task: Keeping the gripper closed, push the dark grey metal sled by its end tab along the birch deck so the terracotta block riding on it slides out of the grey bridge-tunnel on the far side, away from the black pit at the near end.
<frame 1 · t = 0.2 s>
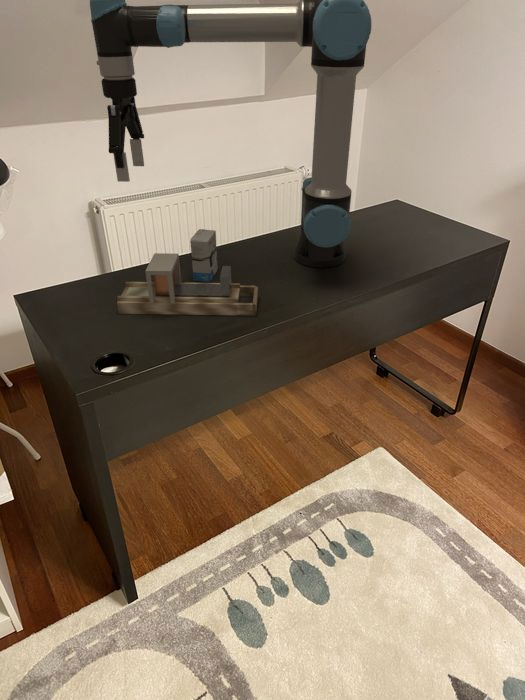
hand: (131, 173, 130), 28 cm above the table, fingers open, 13 cm apart
ink box: (206, 275, 146), on the table
sled: (193, 282, 128), point 6 cm above the table, slide at 0.0 cm
tunnel: (167, 304, 132), resting on deck
deck: (190, 304, 131), on the table
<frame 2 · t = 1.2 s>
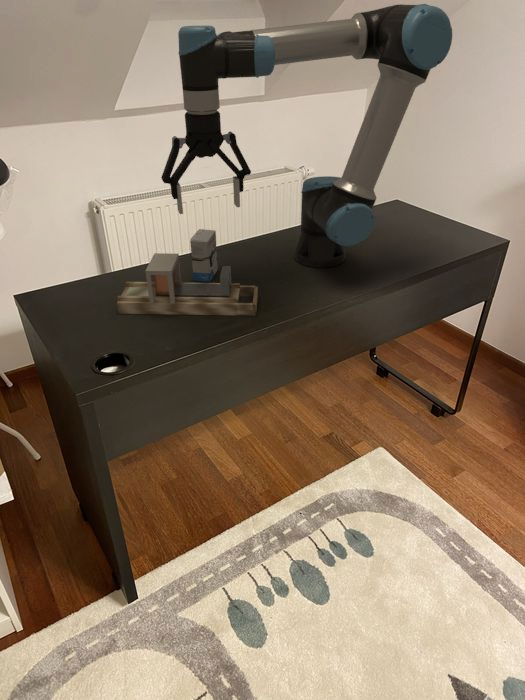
hand: (209, 208, 123), 23 cm above the table, fingers open, 13 cm apart
nothing on the table moved.
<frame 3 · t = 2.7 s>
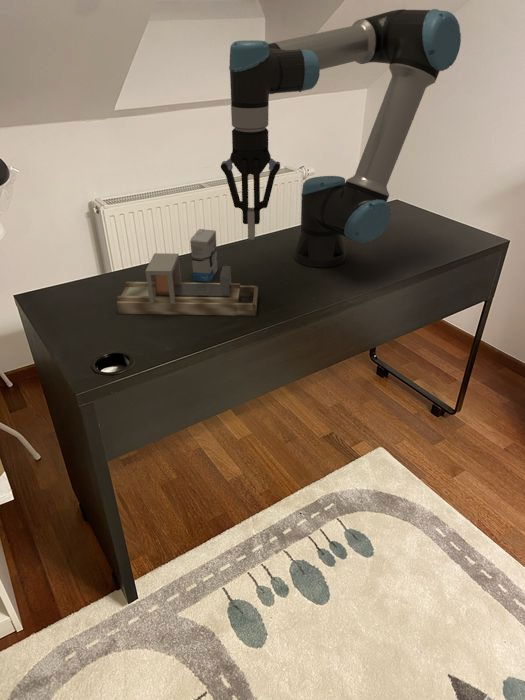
hand: (251, 237, 121), 18 cm above the table, fingers closed
nothing on the table moved.
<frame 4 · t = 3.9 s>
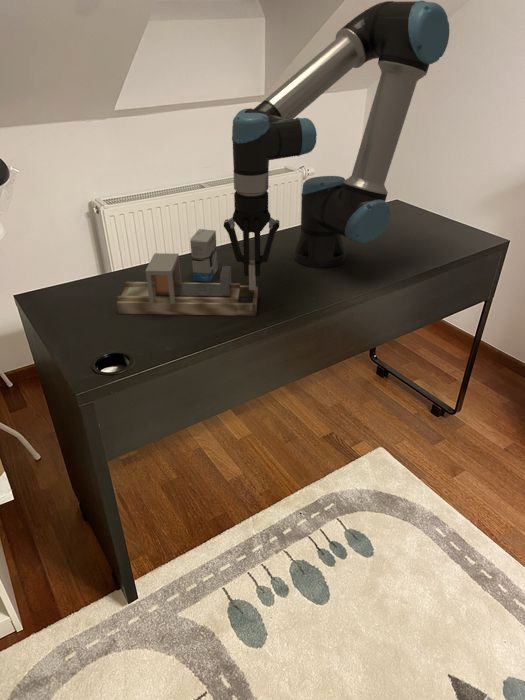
hand: (252, 287, 128), 5 cm above the table, fingers closed
nothing on the table moved.
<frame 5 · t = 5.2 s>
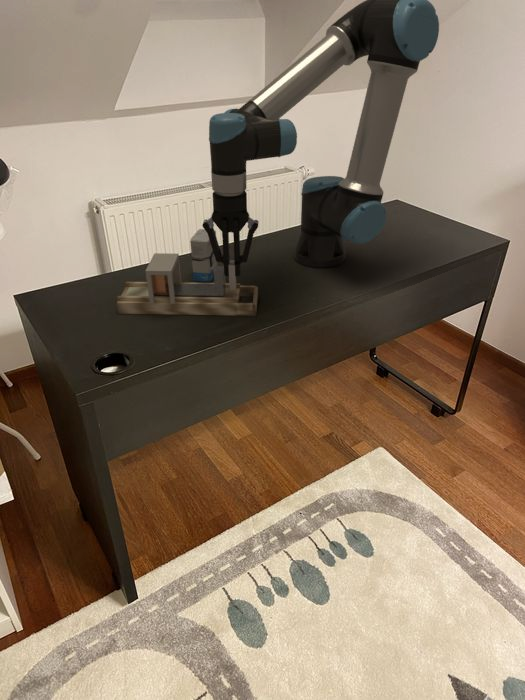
hand: (232, 287, 128), 5 cm above the table, fingers closed
sled: (187, 281, 128), point 6 cm above the table, slide at 1.4 cm, touching gripper
everything else where it was.
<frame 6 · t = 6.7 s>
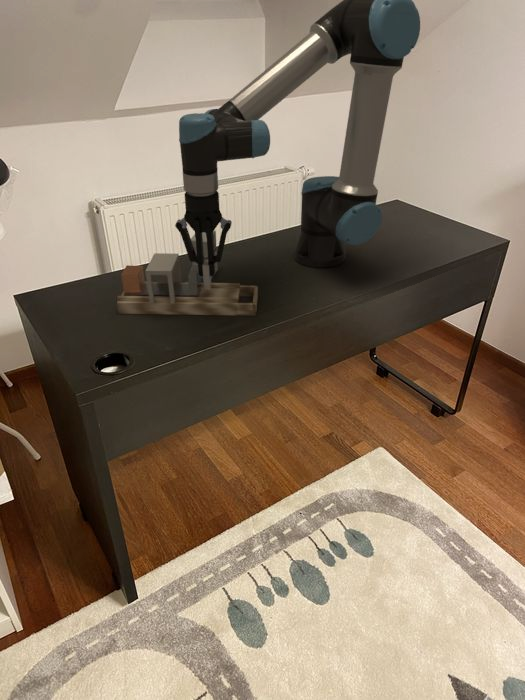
hand: (207, 287, 128), 5 cm above the table, fingers closed
sled: (162, 281, 128), point 6 cm above the table, slide at 7.6 cm, touching gripper
everything else where it was.
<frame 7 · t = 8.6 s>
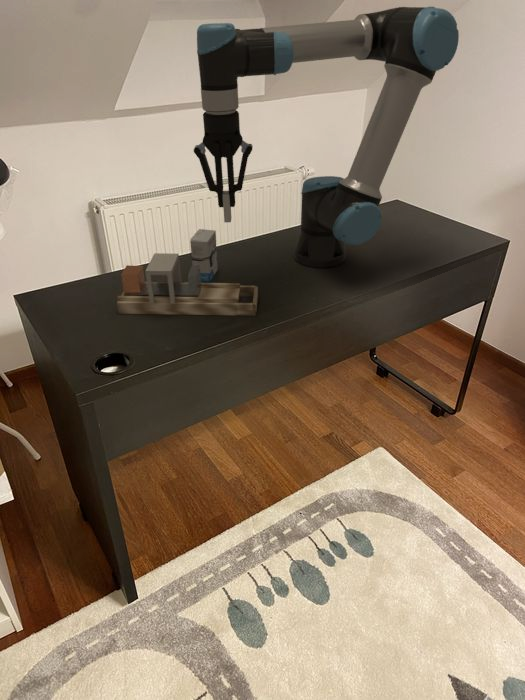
hand: (227, 220, 122), 21 cm above the table, fingers closed
sled: (162, 281, 128), point 6 cm above the table, slide at 7.7 cm
everything else where it was.
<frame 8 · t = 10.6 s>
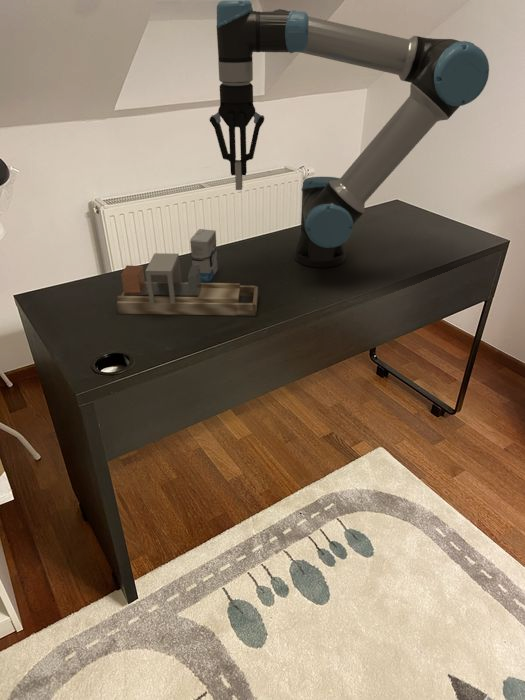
hand: (239, 188, 131), 24 cm above the table, fingers closed
nothing on the table moved.
at the end: sled slide at 7.7 cm; sled 0.7 cm from the target spot, point 6.3 cm above the table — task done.
